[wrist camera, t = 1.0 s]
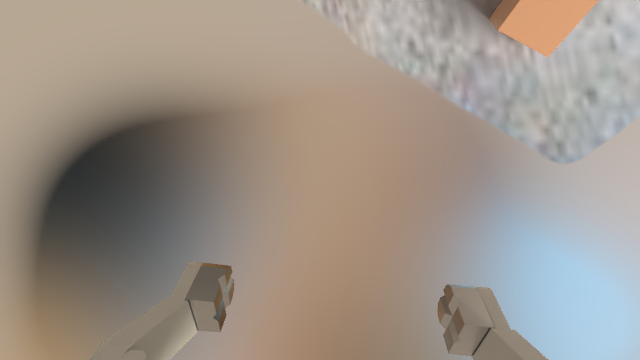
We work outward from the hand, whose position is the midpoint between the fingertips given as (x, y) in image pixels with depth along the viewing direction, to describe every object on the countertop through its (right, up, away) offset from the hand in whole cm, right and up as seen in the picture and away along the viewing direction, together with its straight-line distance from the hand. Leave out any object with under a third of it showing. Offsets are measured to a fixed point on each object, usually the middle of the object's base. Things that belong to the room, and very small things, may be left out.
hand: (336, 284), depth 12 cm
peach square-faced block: (+25, +25, +26) cm, 44 cm away
